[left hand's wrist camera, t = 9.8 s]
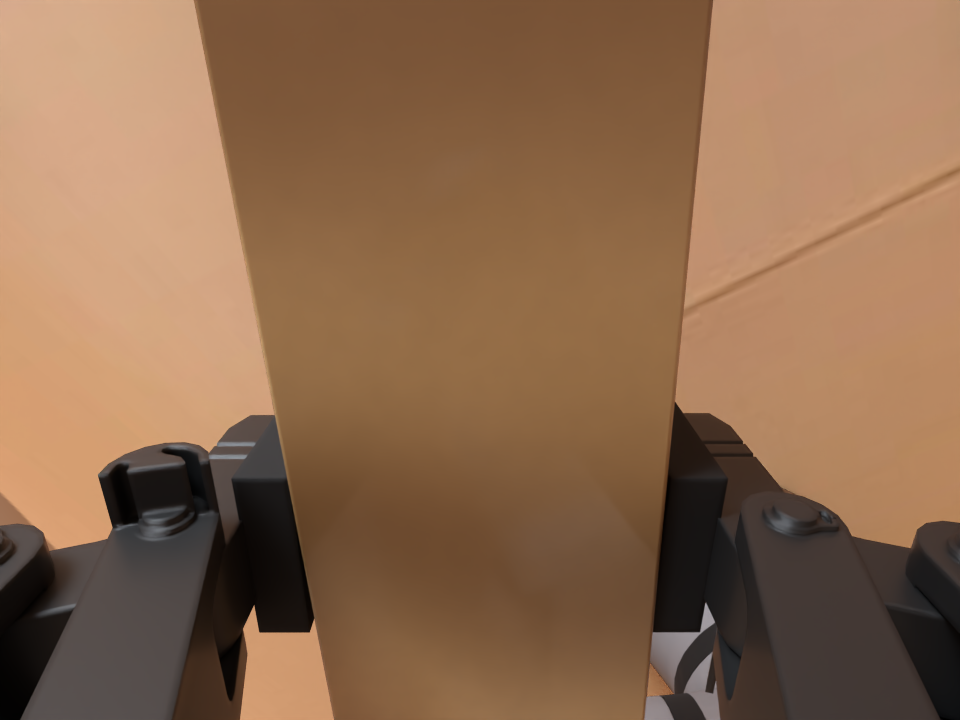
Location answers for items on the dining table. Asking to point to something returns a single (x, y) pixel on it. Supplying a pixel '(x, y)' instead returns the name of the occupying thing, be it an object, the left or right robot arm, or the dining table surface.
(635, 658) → the post
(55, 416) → the dining table surface
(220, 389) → the dining table surface
